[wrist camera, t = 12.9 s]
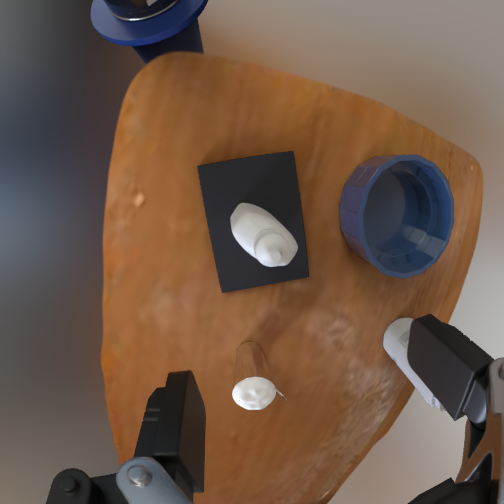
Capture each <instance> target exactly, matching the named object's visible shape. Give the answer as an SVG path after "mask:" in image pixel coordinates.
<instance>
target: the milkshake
mask: <svg viewBox="0 0 504 504" xmlns="http://www.w3.org/2000/svg"><path fill="white" fill-rule="evenodd" d="M276 392H277V393H279V394H280V395H281V396H282V397H283V398H284V399H285V400H286V401H287V399H286V397H285V396H283V395H282V394H281V393H280V392H279V391H278V390H277V389H276V388H275V386H274V383H273V381H272V378H271V376H270V373H269V370H268V367H267V364H266V361H265V359H264V356H263V353H262V350H261V348H260V347H259V346H258V344H256V343H253V342H246V343H242V344H241V345H240V346H239V347H238V348H237V349H236V364H235V376H234V384H233V393H232V395H233V398H234V400H235V402H236V403H237V404H238V405H240V406H242V407H243V408H245V409H249V410H260V409H263V408H265V407H266V406H267V405H268V404H270V403H271V402H272V401H273V400H274V398H275V396H276Z"/></svg>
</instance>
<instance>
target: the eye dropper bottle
mask: <svg viewBox="0 0 504 504" xmlns="http://www.w3.org/2000/svg"><path fill="white" fill-rule="evenodd" d="M230 219H231V228H232V233H233V235H234V237H235V238H236V240H237V241H238V243H239V244H240V245H241V246H242V247H243V248H244V249H245V250H246V251H247V252H248V253H249V254H250V255H252V256H253V257H255V258H256V259H258V260H259V262H260V263H261V264H263V265H264V266H268V267H275V266H285V265H287V264H288V263H289V262H290V261H291V260H292V259H293V257H294V256H295V254H296V252H297V250H298V245H297V243H296V241H295V239H294V238H293V236H292V235H291V234H290V232H289V231H288V230H287V229H286V228H285V227H284V226H283V225H282V224H281V223H280V222H279V221H278V220H277V219H276V218H275V217H274V216H272V215H271V214H270V213H269V212H267V211H266V210H264V209H262V208H260V207H258V206H256V205H253V204H249V203H240V204H239V205H238V206H237V207H236V209H235V211H234V212H233V214H232V215H231V218H230Z"/></svg>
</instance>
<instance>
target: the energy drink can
mask: <svg viewBox="0 0 504 504" xmlns="http://www.w3.org/2000/svg"><path fill="white" fill-rule="evenodd" d="M413 320H414V319H412V318H400V319H397V320H395V321H394V322H392V323H391V324H390V325H389V326H388V328H387V329H386V331H385V334H384V340H383V346H384V349H385V350H386V352H387V353H388V354H389V355H390V356H391V358H392V359H393V360H394V361H395V363H396V364H397V365H398V366H399V367H400V369H401V370H402V371H403V372H404V374H405V375H406V376H407V377H408V379H409V380H410V381H411V382H412V384H413V385H414V386H415V387H416V389H418V391H419V392H420V394H421V395H422V396H423V397H424V399H425V400H426V401H427V402H428V404H429V405H430V406H433V407H438V408H439V409H440V410H441V411H446V409H445V408H444V407H443V406H442V404H441V403H440V402H439V401H438V400H437V398H436V397H435V396H434V395H433V394H432V392H431V391H430V390H429V389H428V387H427V386H426V385H425V384H424V383H423V382H422V380H421V379H420V378H419V377H418V376H417V374H416V373H415V372H414V371H413V370H412V369H411V367H410V365H409V363H408V360H407V349H408V342H409V334H410V326H411V322H412V321H413Z"/></svg>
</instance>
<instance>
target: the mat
mask: <svg viewBox="0 0 504 504" xmlns="http://www.w3.org/2000/svg"><path fill="white" fill-rule="evenodd" d="M197 168H198V173H199V179H200V185H201V190H202V196H203V201H204V207H205V212H206V217H207V223H208V228H209V233H210V238H211V243H212V248H213V253H214V258H215V263H216V268H217V272H218V277H219V282H220V287H221V291H222V293H224V292H230V291H236V290H241V289H247V288H252V287H258V286H263V285H269V284H274V283H279V282H285V281H290V280H295V279H300V278H305V277H309V270H308V260H307V251H306V242H305V233H304V225H303V216H302V209H301V201H300V193H299V186H298V179H297V172H296V166H295V159H294V153H293V151H289V152H281V153H273V154H266V155H259V156H252V157H246V158H240V159H234V160H228V161H222V162H216V163H211V164H206V165H200V166H197ZM240 203H249V204H253V205H256V206H258V207H260V208H262V209H264V210H266V211H267V212H269V213H270V214H271V215H272V216H274V217H275V218H276V219H277V220H278V221H279V222H280V223H281V224H282V225H283V226H284V227H285V228H286V229H287V230H288V231H289V232H290V234H291V235H292V236H293V238H294V239H295V241H296V243H297V245H298V250H297V252H296V254H295V256H294V257H293V259H292V260H291V261H290V262H289V263H288V264H287V265H285V266H275V267H268V266H264V265H263V264H261V263H260V262H259V260H258V259H256V258H255V257H253V256H252V255H250V254H249V253H248V252H247V251H246V250H245V249H244V248H243V247H242V246H241V245H240V244H239V243H238V241H237V240H236V238H235V237H234V235H233V233H232V228H231V219H230V218H231V215H232V214H233V212H234V211H235V209H236V207H237V206H238V205H239V204H240Z"/></svg>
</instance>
